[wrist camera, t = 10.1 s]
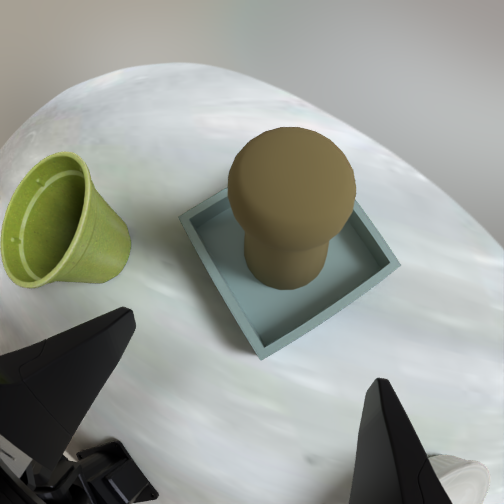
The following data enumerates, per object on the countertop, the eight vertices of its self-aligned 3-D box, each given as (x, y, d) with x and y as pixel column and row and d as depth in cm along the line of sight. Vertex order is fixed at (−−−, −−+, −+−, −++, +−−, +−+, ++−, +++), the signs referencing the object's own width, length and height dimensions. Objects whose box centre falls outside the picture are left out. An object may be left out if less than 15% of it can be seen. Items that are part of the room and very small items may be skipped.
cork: (335, 281, 19) (398, 232, 8) (250, 297, 19) (218, 263, 9) (317, 203, 21) (346, 99, 10) (238, 216, 21) (203, 118, 10)
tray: (262, 356, 19) (260, 360, 16) (188, 228, 22) (178, 217, 19) (388, 272, 19) (401, 265, 17) (306, 160, 22) (309, 143, 20)
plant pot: (126, 321, 20) (52, 313, 12) (54, 281, 22) (-12, 260, 13) (166, 213, 22) (114, 157, 14) (89, 192, 24) (35, 148, 15)
